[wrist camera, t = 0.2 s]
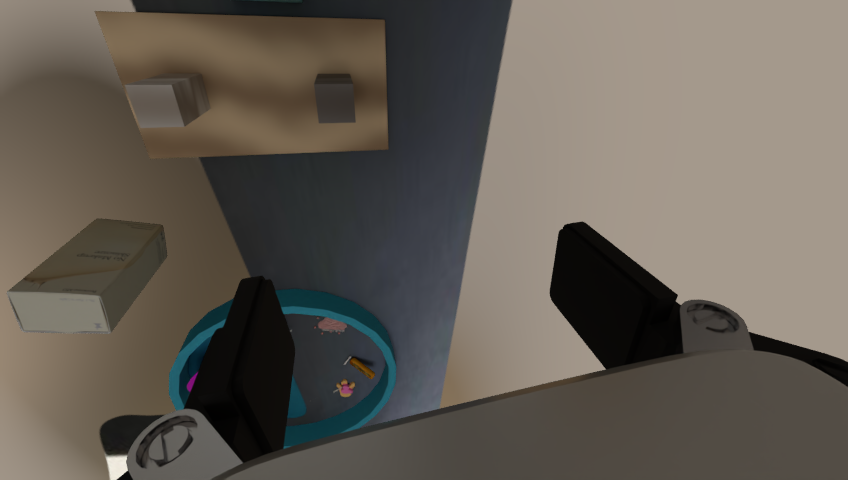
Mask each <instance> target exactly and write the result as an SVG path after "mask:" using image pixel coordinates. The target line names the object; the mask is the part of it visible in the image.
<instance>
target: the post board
mask: <svg viewBox="0 0 848 480" xmlns="http://www.w3.org/2000/svg"><path fill="white" fill-rule="evenodd" d="M95 13H96V16H97V19H98V21H99V24H100V27H101V29H102V32H103V35H104V37H105V40H106V43H107V45H108V48H109V51H110V53H111V56H112V59H113V61H114V64H115V67H116V69H117V72H118V75H119V77H120V80H121V82H122V85H123V88H124V91H125V93H126V96H127V99H128V101H129V104H130V106H131V109H132V112H133V115H134V117H135V120H136V122H137V125H138V128H139V131H140V133H141V136H142V138H143V141H144V144H145V147H146V149H147V152H148V155H149V157H150V159H158V158H184V157H210V156H235V155H260V154H286V153H311V152H336V151H361V150H387V149H388V120H387V84H386V48H385V20H377V19H343V18H309V17H275V16H241V15H207V14H173V13H139V12H106V11H105V12H104V11H95Z"/></svg>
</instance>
